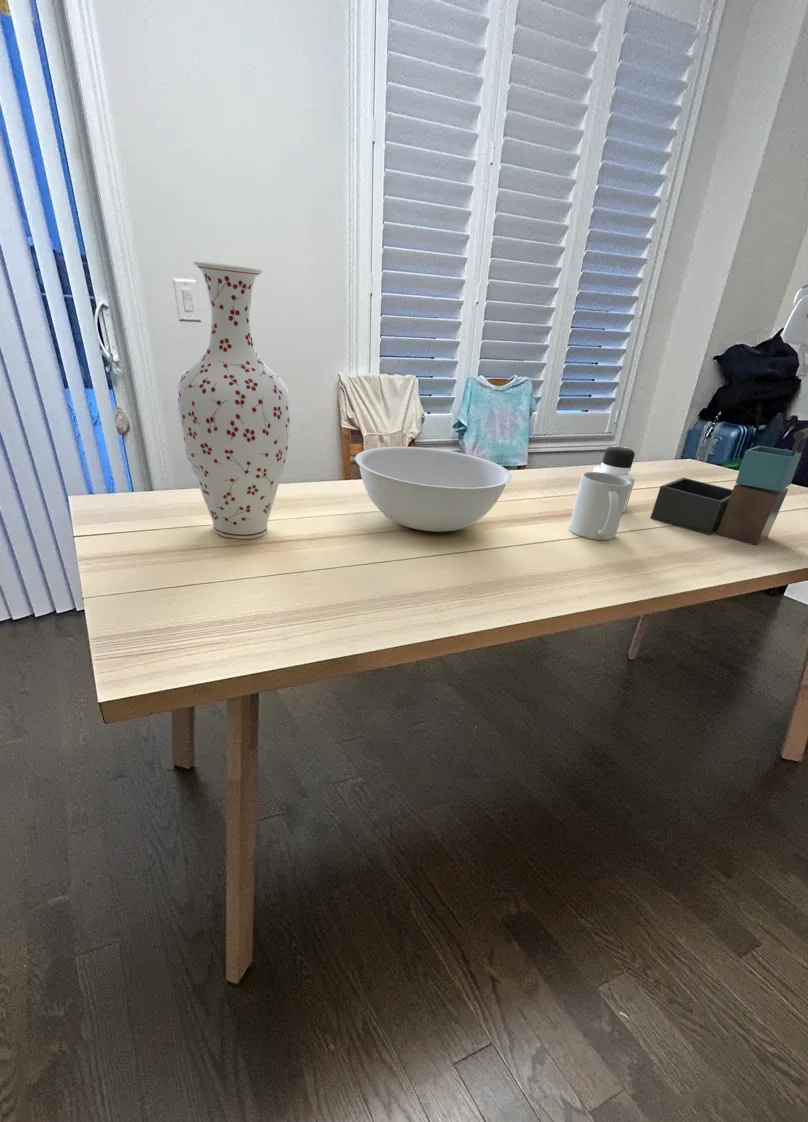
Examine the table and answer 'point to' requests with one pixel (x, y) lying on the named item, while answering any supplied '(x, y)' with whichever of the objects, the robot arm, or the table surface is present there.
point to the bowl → (431, 486)
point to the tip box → (771, 465)
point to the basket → (691, 505)
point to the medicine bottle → (618, 464)
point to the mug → (599, 505)
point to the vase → (234, 412)
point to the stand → (750, 513)
